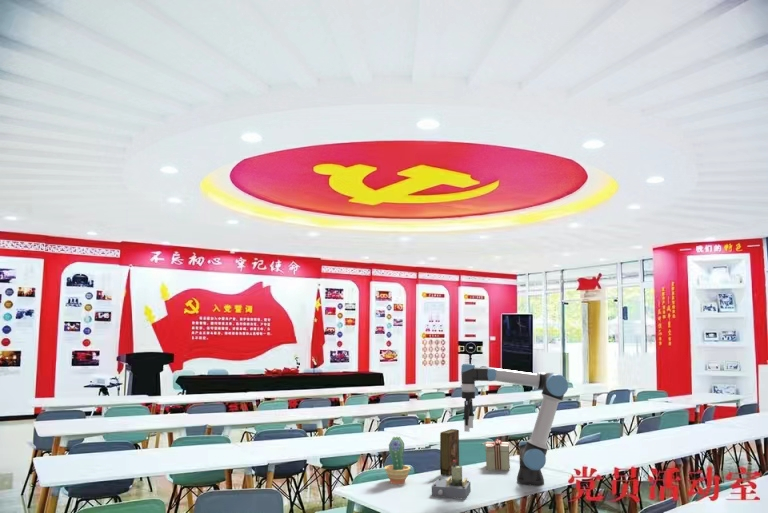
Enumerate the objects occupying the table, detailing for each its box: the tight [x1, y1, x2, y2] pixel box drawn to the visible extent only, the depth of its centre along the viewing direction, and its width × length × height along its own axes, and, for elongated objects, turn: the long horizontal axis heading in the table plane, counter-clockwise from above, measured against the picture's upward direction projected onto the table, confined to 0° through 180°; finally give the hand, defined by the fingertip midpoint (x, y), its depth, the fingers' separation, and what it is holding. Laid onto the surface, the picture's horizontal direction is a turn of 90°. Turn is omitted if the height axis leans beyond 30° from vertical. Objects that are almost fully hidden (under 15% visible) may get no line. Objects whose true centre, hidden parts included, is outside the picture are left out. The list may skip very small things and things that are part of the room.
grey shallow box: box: [431, 476, 472, 500], centre depth 301 cm, size 18×18×8 cm
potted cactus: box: [384, 436, 412, 485], centre depth 328 cm, size 15×15×25 cm
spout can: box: [451, 460, 463, 487], centre depth 302 cm, size 6×6×14 cm
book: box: [439, 428, 460, 477], centre depth 350 cm, size 16×6×25 cm, turn 148°
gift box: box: [480, 438, 511, 471], centre depth 365 cm, size 17×18×17 cm
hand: (468, 429), depth 321 cm, fingers open, 13 cm apart
